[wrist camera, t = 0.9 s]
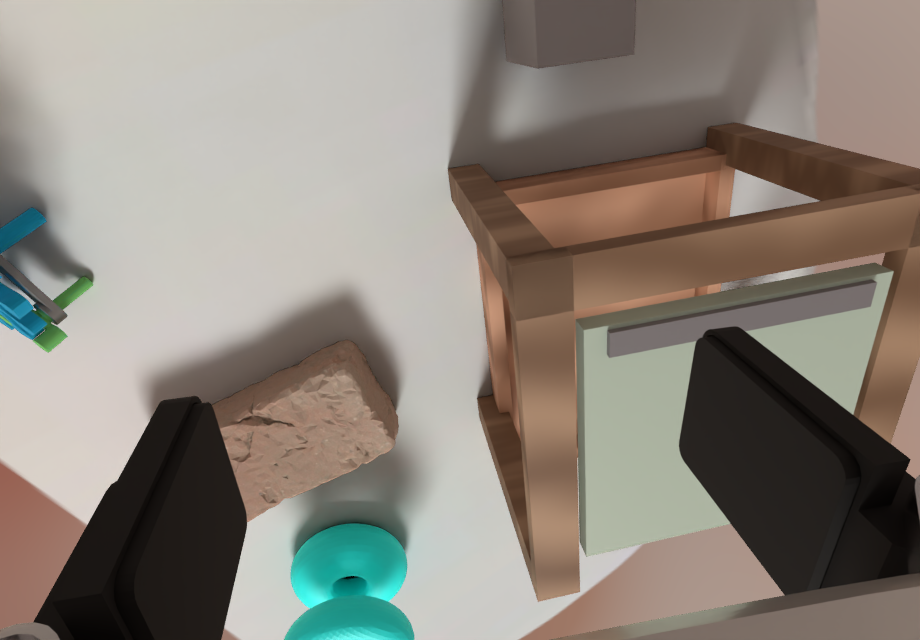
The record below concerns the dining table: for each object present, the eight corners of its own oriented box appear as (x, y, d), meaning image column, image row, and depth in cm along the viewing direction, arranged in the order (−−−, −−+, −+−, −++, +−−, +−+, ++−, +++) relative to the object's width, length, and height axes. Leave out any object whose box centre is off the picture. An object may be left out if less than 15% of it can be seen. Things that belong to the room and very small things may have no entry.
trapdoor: (575, 319, 24) (586, 334, 23) (875, 262, 25) (899, 273, 24) (579, 541, 30) (588, 561, 29) (815, 488, 32) (832, 505, 31)
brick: (347, 331, 40) (346, 366, 36) (402, 411, 44) (406, 451, 40) (149, 429, 41) (126, 474, 37) (220, 499, 45) (206, 546, 41)
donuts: (367, 718, 45) (252, 691, 41) (365, 605, 53) (270, 573, 49) (442, 646, 42) (327, 609, 38) (427, 539, 51) (332, 500, 47)
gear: (-171, 206, 29) (-144, 199, 23) (-62, 146, 32) (-13, 126, 26) (10, 348, 36) (67, 371, 30) (86, 286, 39) (152, 296, 33)
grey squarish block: (499, -38, 31) (532, -53, 25) (586, -49, 31) (637, -66, 25) (506, 61, 33) (537, 68, 27) (586, 49, 34) (634, 54, 28)
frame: (447, 168, 35) (511, 266, 21) (736, 122, 37) (977, 183, 23) (484, 455, 47) (541, 645, 33) (702, 410, 49) (847, 571, 34)
